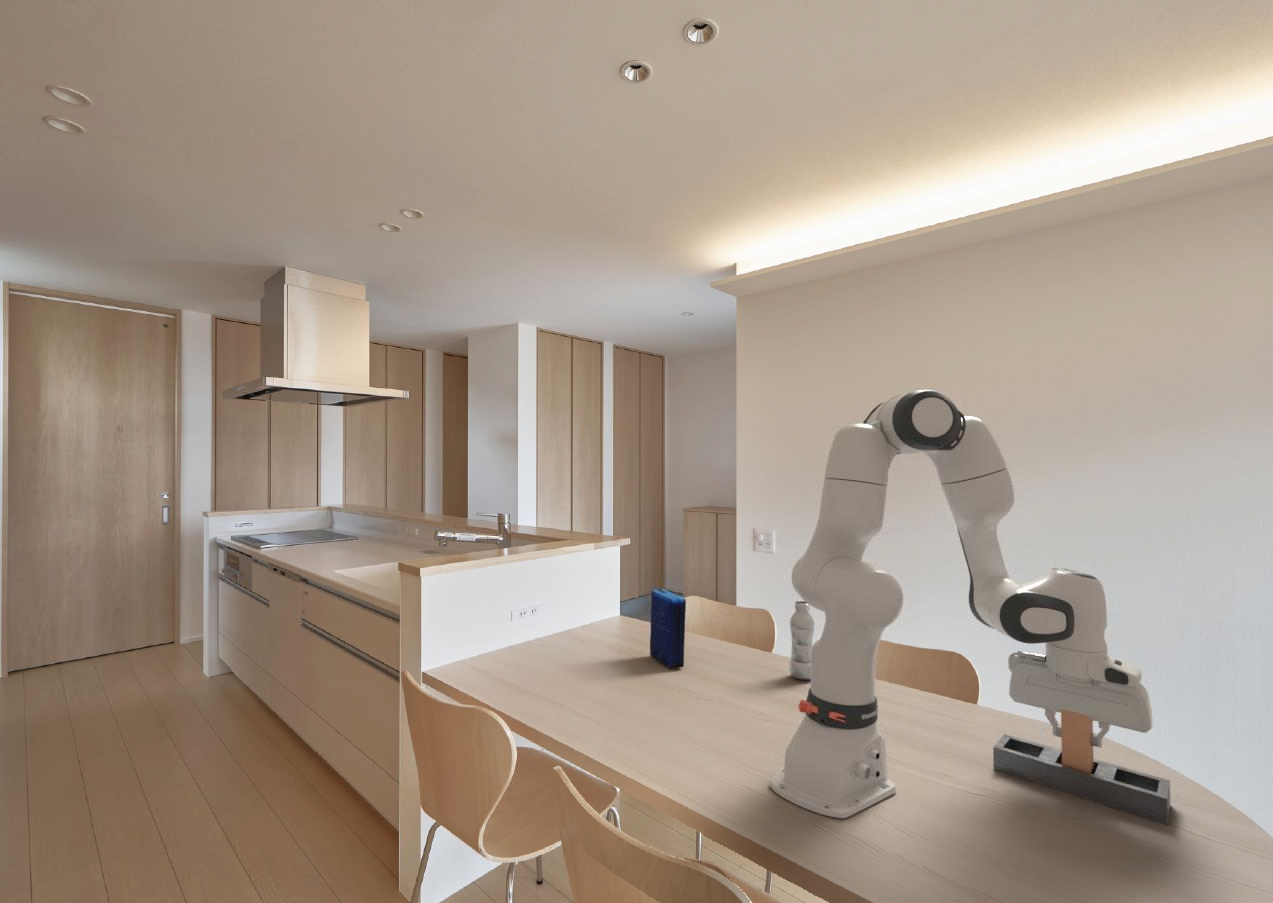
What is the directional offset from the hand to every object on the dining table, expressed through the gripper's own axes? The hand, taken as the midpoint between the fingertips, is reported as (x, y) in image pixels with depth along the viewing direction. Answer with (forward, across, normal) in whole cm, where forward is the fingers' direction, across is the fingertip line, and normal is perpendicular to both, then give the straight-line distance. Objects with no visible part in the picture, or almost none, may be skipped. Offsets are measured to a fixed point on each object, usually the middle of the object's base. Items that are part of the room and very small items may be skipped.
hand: (1077, 740), depth 104 cm
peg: (+5, 0, 0) cm, 5 cm away
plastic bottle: (+8, -61, +14) cm, 63 cm away
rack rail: (+8, 0, 0) cm, 8 cm away
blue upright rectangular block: (+8, -94, -3) cm, 94 cm away
